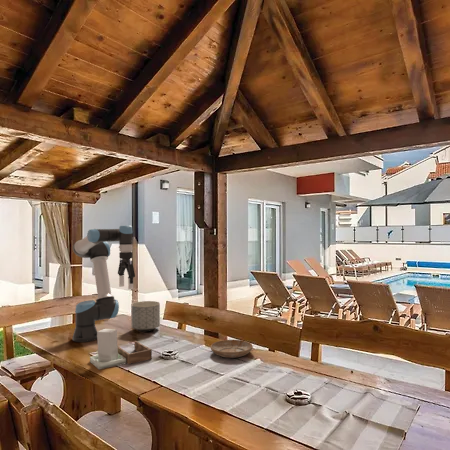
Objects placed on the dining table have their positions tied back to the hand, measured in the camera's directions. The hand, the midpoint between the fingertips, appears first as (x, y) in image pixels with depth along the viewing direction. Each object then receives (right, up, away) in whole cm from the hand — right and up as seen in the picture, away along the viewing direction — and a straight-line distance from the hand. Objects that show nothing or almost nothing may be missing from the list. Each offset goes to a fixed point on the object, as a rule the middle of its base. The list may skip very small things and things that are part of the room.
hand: (126, 287), depth 224 cm
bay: (+8, -35, -17) cm, 39 cm away
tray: (-3, -35, -26) cm, 43 cm away
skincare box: (-3, -34, -26) cm, 43 cm away
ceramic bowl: (+62, -35, -14) cm, 72 cm away
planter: (+4, -35, +36) cm, 51 cm away
